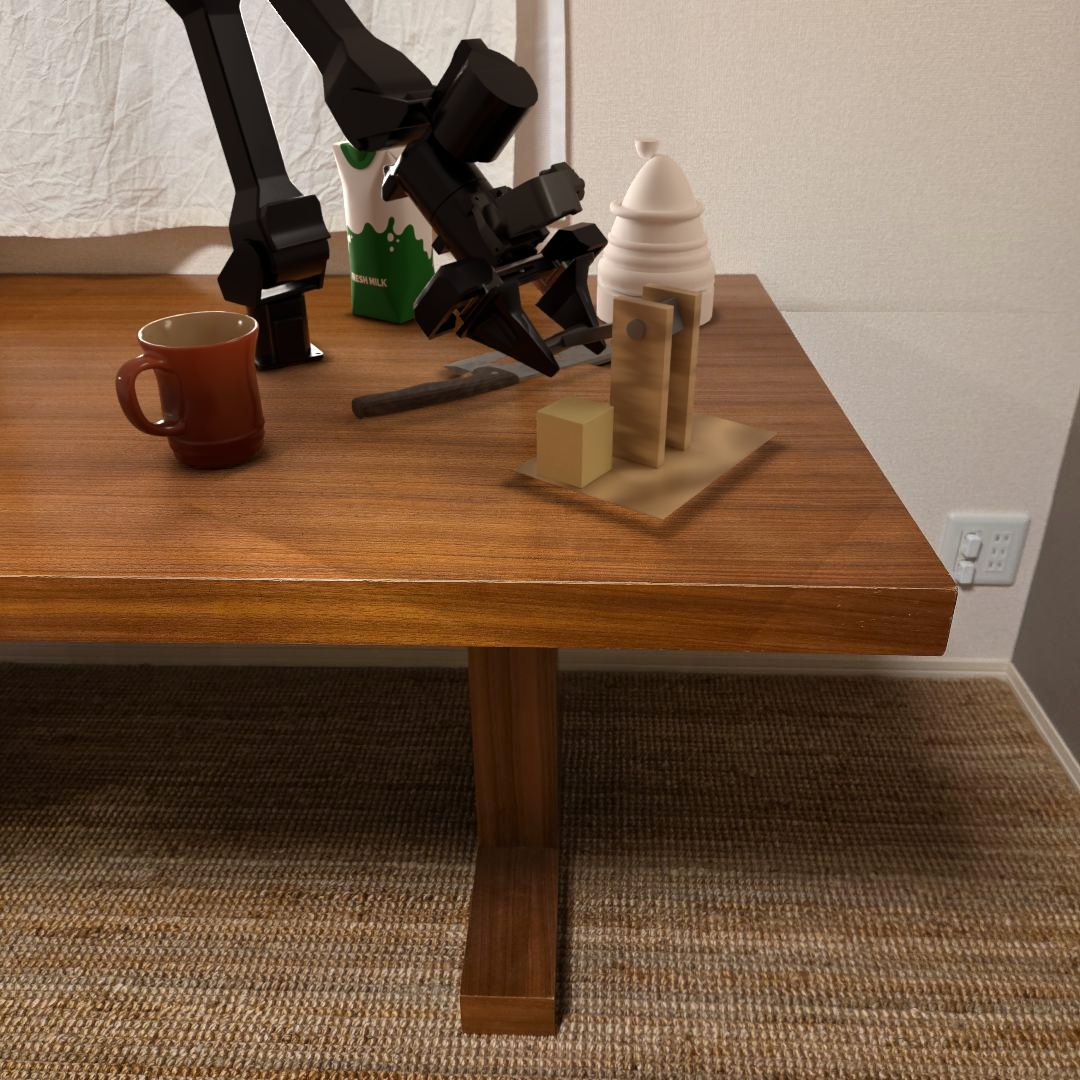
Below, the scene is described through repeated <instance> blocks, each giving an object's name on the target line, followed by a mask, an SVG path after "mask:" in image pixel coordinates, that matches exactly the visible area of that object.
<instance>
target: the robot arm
mask: <svg viewBox="0 0 1080 1080" xmlns="http://www.w3.org/2000/svg"><path fill="white" fill-rule="evenodd" d="M164 1H165V2H166V3H167V4H168V6H170V8H171V9H172V10H173V11H174V12H175V13H176V14H177V15H178V17H179V18H180V19H181V20H182V23H183V26H184V29H185V32H186V35H187V39H188V42H189V46H190V49H191V51H192V55H193V58H194V61H195V64H196V68H197V72H198V74H199V77H200V80H201V84H202V87H203V91H204V93H205V96H206V100H207V104H208V106H209V110H210V113H211V116H212V119H213V123H214V126H215V129H216V132H217V136H218V139H219V142H220V146H221V150H222V152H223V155H224V158H225V162H226V166H227V168H228V171H229V175H230V178H231V182H232V184H233V189H234V197H233V202H232V207H231V212H230V216H229V221H228V231H229V232H228V233H229V236H230V241H231V245H232V252H231V254H230V255H229V257H228V259H227V261H226V262H225V263H224V266H223V268H222V269H221V271H220V273H219V274H218V276H217V278H216V282H217V284H218V287H219V290H220V292H221V295H222V298H223V300H224V301H225V302H229V303H232V304H236V305H240V306H244V307H245V311H246V312H245V313H246V315H248V316H250V317H252V318H254V319H256V320H257V321H258V323H259V332H258V338H257V344H256V352H255V367H257V368H258V369H259V370H269V369H274V368H280V367H285V366H291V365H296V364H301V363H306V362H312V361H317V360H322V359H324V357H325V355H324V352H323V351H322V350H320V349H319V348H318V347H316V345H314V344H313V343H312V342H311V336H310V327H309V326H310V325H309V319H308V311H307V310H308V309H307V301H306V293H309V292H311V291H316V290H317V291H318V290H322V289H323V288H324V283H325V276H326V271H327V263H328V260H330V251H331V250H330V244H329V239H331V238H332V236H331V234H330V232H329V230H328V228H327V225H326V223H325V220H324V215H323V211H322V204H321V202H320V199H319V198H318V196H317V195H316V194H314V193H311V194H306V195H305V194H304V193H303V192H302V191H301V190H300V189H299V188H298V186H296V185H295V184H294V183H293V181H292V180H291V179H290V175H289V173H288V170H287V167H286V163H285V159H284V157H283V156H284V155H283V153H282V149H281V146H280V142H279V138H278V135H277V133H276V128H275V125H274V122H273V118H272V115H271V111H270V108H269V104H268V101H267V97H266V94H265V91H264V87H263V84H262V80H261V77H260V73H259V70H258V66H257V63H256V59H255V55H254V52H253V50H252V49H253V48H252V46H251V41H250V38H249V35H248V32H247V29H246V25H245V22H244V18H243V14H242V10H241V4H242V0H164ZM267 2H268V3H269V4H270V6H271V7H272V8H273V9H274V10H275V12H276V13H277V15H278V16H279V18H280V19H281V20H282V22H283V23H284V25H285V26H286V27H287V28H288V30H289V31H290V32H291V34H292V36H294V38H295V40H297V43H299V45H300V46H301V47H302V49H303V50H304V52H305V53H306V54H307V56H309V58H310V59H311V61H312V62H313V63H314V65H315V66H316V68H317V70H318V72H319V73H320V75H321V77H322V87H323V99H324V103H325V104H326V106H327V108H328V110H329V111H330V114H331V116H332V117H333V119H334V121H335V122H336V124H337V126H338V127H339V130H340V131H341V133H342V135H343V137H344V138H345V141H348V142H349V143H350V144H351V145H352V146H353V147H354V148H355V149H357V150H358V151H364V152H378V151H383V150H389V149H394V148H400V147H405V146H406V147H405V149H404V150H403V152H402V154H401V155H400V157H399V159H398V160H397V162H396V163H395V164H390V165H385V166H384V167H383V171H384V182H383V185H382V198H383V200H384V201H385V202H389V201H393V200H397V199H402V198H406V197H409V198H410V199H411V201H412V202H413V203H414V205H415V206H416V207H417V209H418V210H419V211H420V213H421V214H422V215H423V217H424V218H425V219H426V221H427V222H428V223H429V225H430V226H431V227H432V231H433V232H434V233H435V234H436V235H437V236H436V238H435V239H434V240H433V241H432V245H431V246H432V247H433V251H434V252H435V253H436V254H437V255H438V256H441V255H445V254H447V253H450V254H451V256H452V257H453V258H454V259H455V260H454V261H452V262H448V263H446V264H441V265H440V266H439V267H438V269H437V270H436V271H435V274H434V276H433V277H432V279H431V280H430V281H429V283H428V284H427V285H426V287H425V288H424V290H423V291H422V292H421V294H420V295H419V297H418V298H417V299H416V301H415V302H414V304H413V307H414V316H415V318H414V322H415V323H416V325H417V326H418V327H419V328H420V330H421V331H422V333H423V334H424V335H425V337H426V338H427V339H428V341H432V340H434V339H436V338H440V337H442V336H444V335H448V334H450V333H452V332H453V331H454V330H455V329H456V327H457V315H456V314H455V312H454V311H455V310H456V311H457V313H458V317H459V319H460V320H461V321H462V322H463V323H462V324H461V325H460V327H459V328H458V329H457V330H456V332H455V336H456V337H457V338H458V339H460V340H462V339H466V338H467V339H469V340H470V341H471V340H472V341H473V342H476V343H478V344H481V345H483V346H486V347H488V348H490V349H493V350H494V351H499V352H501V353H503V354H505V355H507V356H506V357H510V358H511V359H513V360H515V361H516V362H521V363H523V364H525V365H526V366H528V367H530V368H532V369H534V370H536V371H538V372H540V373H542V374H543V375H544V376H546V377H548V378H553V377H556V375H557V374H558V373H559V372H560V371H561V369H560V367H559V365H558V363H557V361H556V360H555V359H556V357H555V356H553V354H552V352H551V351H550V349H549V348H548V346H547V345H546V343H545V342H544V340H543V339H544V338H542V336H541V334H540V333H539V331H538V330H537V328H536V326H535V325H534V324H533V322H532V321H531V319H530V318H529V316H528V314H527V313H526V312H525V310H524V309H523V306H522V301H521V294H520V293H521V292H520V287H521V286H524V285H527V284H530V283H531V284H533V285H534V286H535V288H536V289H537V290H538V291H539V292H540V293H541V295H542V296H541V297H540V298H539V299H538V301H537V302H536V303H535V304H534V305H535V306H536V308H538V309H539V310H540V311H541V312H542V313H543V314H544V315H545V316H547V317H548V318H550V319H551V320H552V321H553V322H554V323H556V324H557V325H558V326H559V327H560V328H562V329H563V331H564V330H566V329H568V328H571V327H573V326H575V325H577V324H580V323H584V324H586V325H587V326H588V327H589V328H590V327H595V326H599V325H601V324H600V321H599V317H598V316H597V312H596V309H595V306H594V304H593V301H592V297H591V294H590V293H591V292H590V289H589V285H588V277H589V271H590V266H591V265H592V264H593V263H594V262H595V259H596V258H597V257H598V256H599V255H600V254H601V253H602V252H603V251H604V248H605V247H606V246H607V244H608V238H607V237H606V236H605V235H604V233H603V231H601V230H600V228H599V226H598V225H597V224H596V223H595V222H583V221H581V222H578V223H575V224H571V225H569V226H564V227H562V228H559V229H557V230H556V232H555V233H554V234H553V235H552V237H550V239H549V241H548V242H547V243H546V244H545V245H544V246H543V248H541V250H540V251H538V249H537V247H538V246H539V244H542V243H544V241H545V240H546V239H547V238H548V236H549V235H550V234H551V232H550V230H549V229H548V228H547V227H548V226H550V225H552V224H554V223H556V222H558V221H560V220H562V219H564V218H566V217H568V216H570V215H571V216H576V215H578V214H579V213H581V212H583V210H584V209H583V207H582V204H581V201H583V200H584V198H585V193H586V191H585V188H586V181H585V180H584V179H583V178H582V177H580V176H579V174H578V173H577V172H576V171H575V169H574V168H572V167H571V166H570V165H569V164H568V163H567V162H566V161H562V162H556V163H553V164H551V165H550V168H546V169H543V170H541V171H539V172H538V175H537V176H535V177H532V178H530V179H527V180H526V181H524V182H521V184H519V185H517V186H515V187H513V188H512V187H510V186H507V185H502V186H498V187H493V185H492V184H491V182H490V181H489V179H487V178H486V176H485V175H484V174H483V172H482V171H481V169H480V168H479V167H478V165H477V164H476V163H480V164H482V163H483V164H484V163H485V164H490V163H493V162H495V161H496V160H497V159H498V158H499V156H500V155H501V154H502V153H503V151H504V149H505V148H506V146H507V145H508V144H509V143H510V141H511V140H512V138H513V137H514V136H515V134H516V132H517V131H518V129H519V128H520V127H521V125H522V124H523V122H524V121H525V120H526V118H527V117H528V115H529V114H530V112H531V111H532V109H533V108H534V107H535V105H536V103H537V102H538V100H539V92H538V87H537V85H536V83H535V80H534V79H533V78H532V76H531V75H530V73H529V72H528V71H527V70H526V68H525V67H523V66H520V65H518V64H517V63H516V62H514V61H513V60H512V59H511V58H509V57H508V56H506V55H505V54H503V53H501V52H500V51H497V50H494V49H491V48H489V47H488V45H486V43H485V42H484V40H483V39H482V38H481V37H476V38H465V39H463V38H462V39H461V40H460V41H459V43H458V45H457V46H456V48H455V49H454V52H453V53H452V56H451V60H450V62H449V64H448V66H447V68H446V69H445V71H444V73H443V74H442V76H441V78H440V80H439V81H438V83H437V84H433V83H432V81H431V80H430V78H429V77H428V76H427V75H426V73H424V72H423V71H422V70H421V69H420V68H419V67H418V65H416V64H415V63H414V62H413V61H412V60H410V58H408V56H407V55H405V54H404V53H403V52H402V51H401V50H399V49H397V48H395V47H393V46H392V45H390V44H388V43H386V42H385V41H383V40H381V39H380V38H378V37H376V36H375V35H374V34H373V33H372V32H371V31H370V30H369V29H368V28H367V27H366V26H365V25H364V24H363V22H362V21H361V20H360V18H359V17H358V16H357V14H356V13H355V12H354V10H353V9H352V7H351V6H350V5H349V3H348V2H347V1H346V0H267ZM606 344H607V343H606V339H605V340H601V341H596V342H592V343H587V344H582V345H583V346H585V347H586V348H587V349H589V350H590V351H592V352H593V353H594V354H596V355H599V354H601V353H602V352H603V351H604V350H605V349H606V347H607V346H606Z"/></svg>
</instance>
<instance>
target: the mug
mask: <svg viewBox="0 0 1080 1080" xmlns="http://www.w3.org/2000/svg"><path fill="white" fill-rule="evenodd" d="M258 332H259V323H258V321H257V320H256V319H254V318H252V317H250V316H248V315H247V314H244V313H239V312H231V311H196V312H188V313H182V314H176V315H172V316H168V317H163V318H160V319H157V320H155V321H152V322H149V323H148V324H146V325H144V326H142V328H140V329H139V330H138V332H137V333H136V340H137V342H138V344H139V346H140V347H141V349H142V351H143V354H140V355H138V356H136V357H133V358H131V359H128V360H127V361H126V362H124V363H123V364H122V365H121V366H120V367H119V369H118V370H117V372H116V375H115V378H114V379H115V380H114V381H115V382H114V383H115V391H116V397H117V400H118V403H119V407H120V409H121V411H122V413H123V415H124V417H125V418H126V420H127V421H128V422H129V423H130V424H131V425H132V426H133V427H134V428H135V429H136V430H138V431H139V432H141V433H143V434H146V435H149V436H153V437H161V438H167V440H168V441H167V442H168V445H169V448H170V449H171V451H172V453H173V456H174V458H175V459H176V460H177V461H179V462H181V463H182V464H184V465H187V466H189V467H191V468H196V469H201V470H217V469H218V470H219V469H226V468H231V467H236V466H238V465H241V464H244V463H246V462H249V461H250V460H252V459H253V458H254V457H256V455H258V454H259V452H261V451H262V449H263V447H264V445H265V435H266V429H265V425H266V419H265V416H264V412H263V411H264V409H263V405H262V398H261V393H260V388H259V383H258V377H257V371H256V365H255V352H256V344H257V338H258ZM147 370H152V371H153V373H154V376H155V379H156V383H157V388H158V395H159V401H160V407H161V413H162V419H160V420H157V421H150V420H148V419H147V417H146V416H145V414H144V412H143V410H142V408H141V406H140V403H139V400H138V396H137V391H136V379H137V377H138V376H139V374H141V373H142V372H145V371H147Z"/></svg>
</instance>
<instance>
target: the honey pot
mask: <svg viewBox="0 0 1080 1080" xmlns="http://www.w3.org/2000/svg"><path fill="white" fill-rule="evenodd" d="M660 142H661V140H660V139H659V138H652V137H640V138H635V139H634V148H635V150H636V153H637V155H638V156H639V157H640V158H641V159H643V160H646V161H647V160H648V161H647V162H645V163H644V165H642V166H641V168H640V170H639V171H638V172H637V173H636V175H635V177H634V178H633V180H632V181H631V183H630V185H629V187H628V190H627V191H626V193H625V195H624V196H622V197H618V198H615V199H614V200H613V201H611V202H610V204H609V211H610V213H611V214H613V215H614V216H616V217H615V220H614V222H613V225H612V228H611V230H610V231H609V232H608V234H607V240H608V244H607V246H606V247H605V248H604V249H603V256H602V257H601V258H600V260H599V261H598V265H597V279H596V280H597V282H596V316H597V318H598V319H599V320H601V321H603V322H604V323H605V324H608V323H612V322H613V299H614V298H616V297H618V296H626V297H631V298H636V299H641V300H642V297H643V286H644V285H646V284H649V283H653V284H658V285H663V286H669V287H674V288H680V289H685V290H690V291H696V292H701V293H702V301H701V314H700V326H704V325H705V324H706V323H709V322H710V321H711V319H712V318H713V310H714V309H713V308H714V298H715V297H714V296H715V286H714V284H715V281H716V280H715V276H716V274H717V273H716V267H715V264H714V262H713V260H712V258H711V257H712V256H711V255H712V252H711V249H710V246H709V245H708V243H709V236H708V233H707V232H706V231H705V227H704V224H703V219H702V216H701V215H703V213H704V212H705V205H704V203H703V202H702V201H699V200H698V199H696V197H695V193H694V192H693V190H692V186H691V184H690V182H689V180H688V178H687V176H686V174H685V172H684V170H683V169H682V167H681V166H680V165H679V163H678V162H677V161H676V160H674V158H673V157H671V156H670V155H668V154H663V153H657V152H658V150H659V146H660Z"/></svg>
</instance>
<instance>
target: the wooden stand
mask: <svg viewBox="0 0 1080 1080" xmlns="http://www.w3.org/2000/svg"><path fill="white" fill-rule="evenodd" d="M672 297H676V298H677V302H678V306H679V310H680V314H681V317H682V321H683V325H684V329H683V330H681V331H679V332H677V333H676V334H674V335H672V327H673V312H674V306H672V305H666V304H661V303H656V302H655V301H659V300H664V299H668V298H672ZM701 301H702V293H701V292H696V291H690V290H685V289H680V288H674V287H669V286H663V285H658V284H653V283H649V284H646V285H644V286H643V297H642V300H641V299H636V298H631V297H626V296H618V297H616V298H614V299H613V324H612V338H611V346H612V354H611V361H610V385H609V387H610V388H609V406H613V407H614V416H613V445H612V469H611V470H610V471H608V472H606V473H605V474H603V475H602V476H600V477H599V478H597V479H595V480H594V481H592V482H591V483H589V484H588V485H586V486H584V487H583V488H578V487H575V486H572V485H569V484H566V483H563V482H559V481H556V480H553V479H550V478H547V477H544V476H541V475H538V474H537V455H535V456H534V457H532V458H530V459H528V460H526V461H525V462H523V463H521V464H519V465H517V466H515V467H514V468H512V469H511V471H512V472H515V473H518V474H521V475H524V476H527V477H529V478H533V479H536V480H539V481H542V482H546V483H549V484H552V485H555V486H557V487H561V488H564V489H566V490H569V491H573V492H576V493H578V494H582V495H584V496H588V497H592V498H594V499H597V500H601V501H603V502H606V503H610V504H613V505H616V506H619V507H622V508H625V509H628V510H631V511H634V512H637V513H641V514H643V515H646V516H649V517H652V518H656V519H657V520H658V519H659V520H661V521H662V520H664V519H666V518H667V517H669V516H670V515H671V514H672V513H675V512H676V511H677V510H678V509H680V507H682V506H683V505H685V504H686V503H687V502H689V501H690V500H691V499H692V498H694V497H696V496H697V495H698V494H699V493H700V492H702V491H704V489H706V488H707V487H709V486H710V485H711V484H712V483H714V482H715V481H717V480H718V479H720V478H721V477H722V476H723V475H725V474H726V473H727V472H729V471H730V470H732V469H733V468H734V467H735V466H737V465H738V464H739V463H741V462H742V461H743V460H745V459H746V458H748V456H750V455H751V454H753V453H754V452H756V450H758V449H759V448H761V447H762V446H763V445H764V444H766V443H767V442H769V441H770V440H771V439H773V438H774V437H776V436H777V435H778V432H775V431H771V430H767V429H763V428H759V427H756V426H751V425H748V424H744V423H740V422H736V421H732V420H728V419H725V418H720V417H717V416H713V415H708V414H705V413H700V412H697V411H694V405H695V404H694V403H695V391H696V378H697V365H698V352H699V339H700V314H701Z"/></svg>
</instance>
